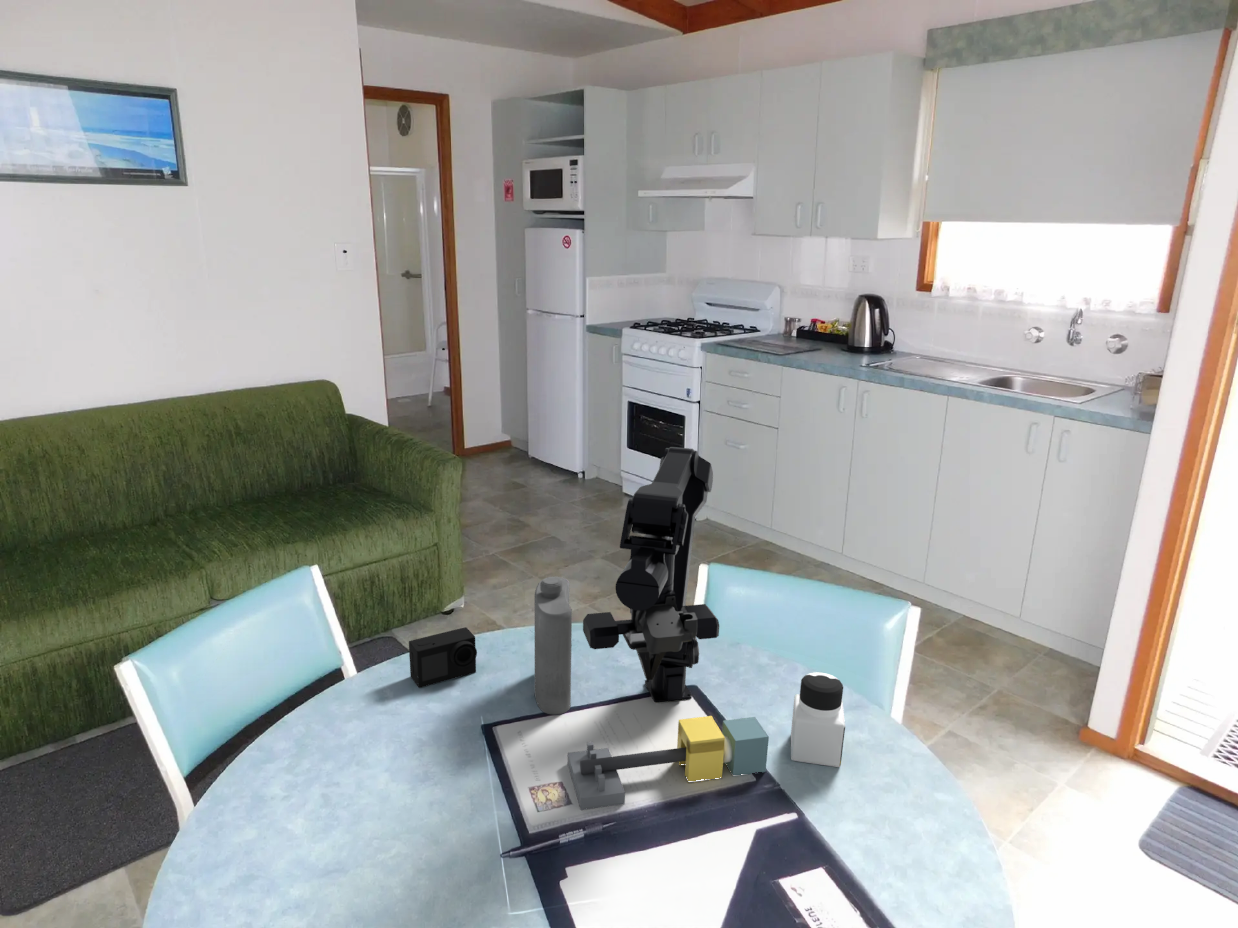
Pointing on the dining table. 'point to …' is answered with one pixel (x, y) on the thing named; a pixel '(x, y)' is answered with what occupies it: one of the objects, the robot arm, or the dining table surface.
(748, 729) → the dark grey rod
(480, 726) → the dining table surface
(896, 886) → the dining table surface
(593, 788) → the grey pronged block
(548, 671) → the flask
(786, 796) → the dining table surface
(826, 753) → the medicine bottle
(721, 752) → the sleeve
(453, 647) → the digital camera
